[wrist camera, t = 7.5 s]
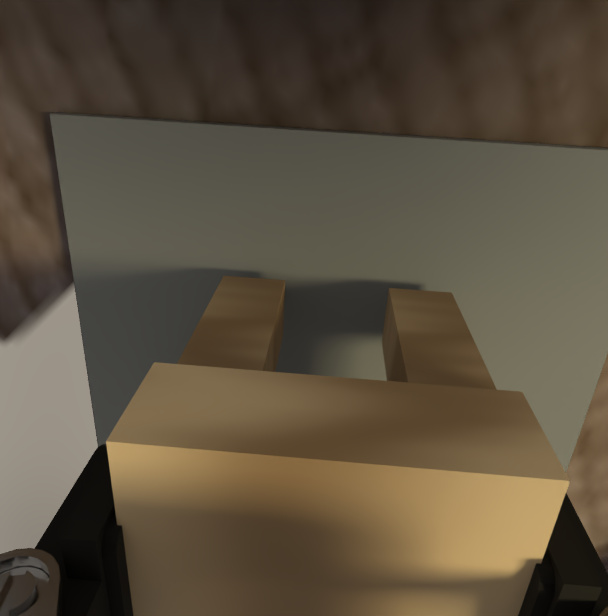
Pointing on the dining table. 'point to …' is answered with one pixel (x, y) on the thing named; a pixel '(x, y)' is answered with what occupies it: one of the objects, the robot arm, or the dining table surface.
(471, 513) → the stool
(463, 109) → the dining table surface
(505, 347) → the mat
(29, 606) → the robot arm
